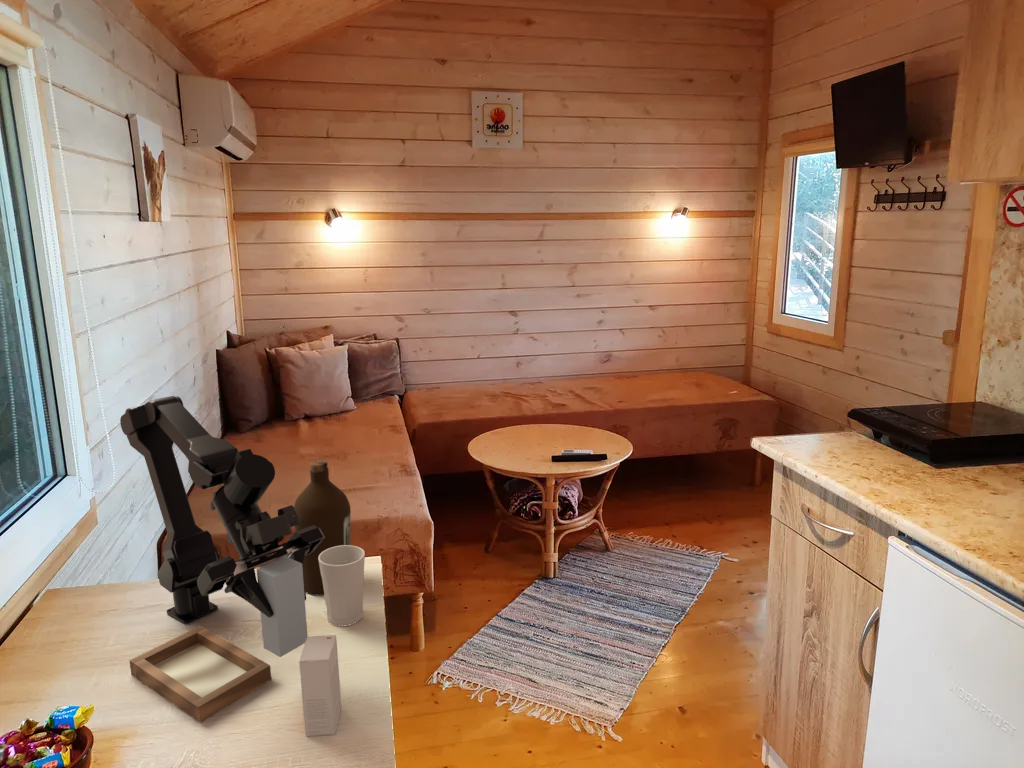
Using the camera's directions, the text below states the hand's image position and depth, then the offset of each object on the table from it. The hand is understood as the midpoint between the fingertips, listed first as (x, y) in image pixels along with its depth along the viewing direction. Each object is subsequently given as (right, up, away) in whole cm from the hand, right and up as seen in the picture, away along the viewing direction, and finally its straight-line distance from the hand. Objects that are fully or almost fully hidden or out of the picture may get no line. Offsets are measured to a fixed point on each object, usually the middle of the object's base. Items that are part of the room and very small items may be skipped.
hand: (288, 608), depth 107 cm
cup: (+3, -9, +23) cm, 25 cm away
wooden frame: (-15, -13, +6) cm, 21 cm away
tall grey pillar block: (-1, -6, +2) cm, 7 cm away
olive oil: (-3, -6, +34) cm, 35 cm away
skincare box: (+6, -15, -4) cm, 17 cm away
